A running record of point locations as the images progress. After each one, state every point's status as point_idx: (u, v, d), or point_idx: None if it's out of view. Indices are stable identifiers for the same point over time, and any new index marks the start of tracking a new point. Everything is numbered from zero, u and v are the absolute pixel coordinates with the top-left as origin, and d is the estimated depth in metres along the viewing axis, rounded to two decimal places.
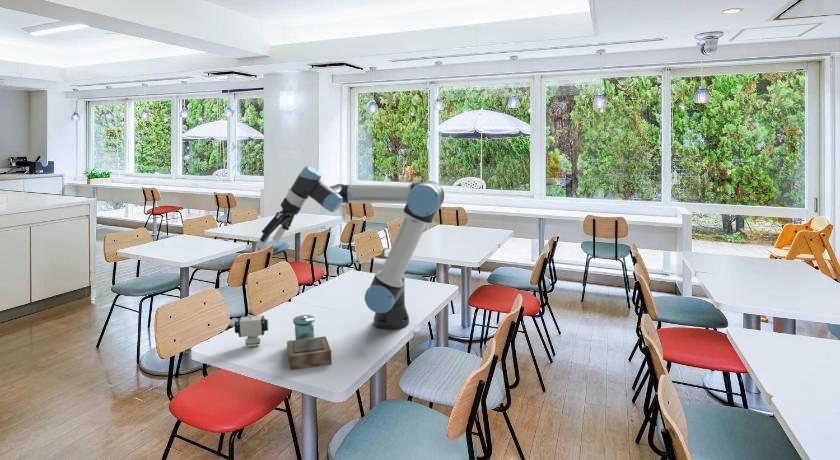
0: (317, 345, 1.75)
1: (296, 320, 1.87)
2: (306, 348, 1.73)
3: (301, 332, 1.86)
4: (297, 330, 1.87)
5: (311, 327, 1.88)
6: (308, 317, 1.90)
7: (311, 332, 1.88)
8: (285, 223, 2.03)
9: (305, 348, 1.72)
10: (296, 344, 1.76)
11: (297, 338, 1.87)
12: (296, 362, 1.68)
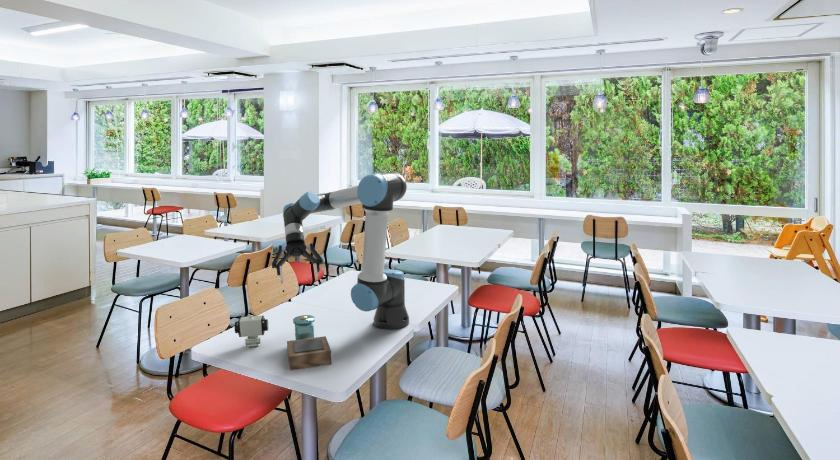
0: (317, 345, 1.75)
1: (296, 320, 1.87)
2: (306, 348, 1.73)
3: (301, 332, 1.86)
4: (297, 330, 1.87)
5: (311, 327, 1.88)
6: (308, 317, 1.90)
7: (311, 332, 1.88)
8: (309, 257, 2.03)
9: (305, 348, 1.72)
10: (296, 344, 1.76)
11: (297, 338, 1.87)
12: (296, 362, 1.68)
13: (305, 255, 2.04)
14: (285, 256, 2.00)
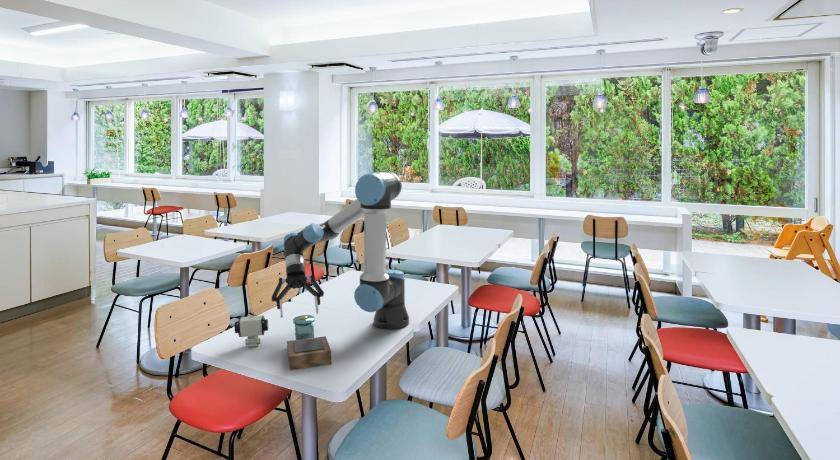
0: (317, 345, 1.75)
1: (296, 320, 1.87)
2: (306, 348, 1.73)
3: (301, 332, 1.86)
4: (297, 330, 1.87)
5: (311, 327, 1.88)
6: (308, 317, 1.90)
7: (311, 332, 1.88)
8: (309, 290, 2.00)
9: (305, 348, 1.72)
10: (296, 344, 1.76)
11: (297, 338, 1.87)
12: (296, 362, 1.68)
13: (306, 287, 2.01)
14: (285, 289, 1.97)
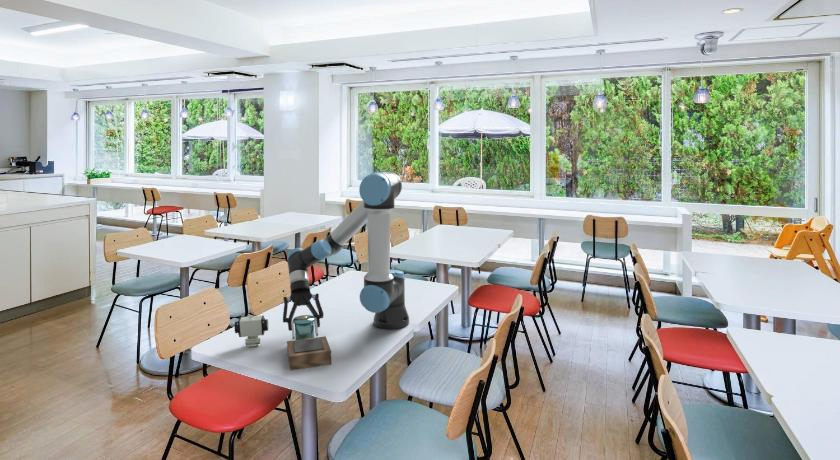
0: (317, 345, 1.75)
1: (296, 320, 1.87)
2: (306, 348, 1.73)
3: (301, 332, 1.86)
4: (297, 330, 1.87)
5: (311, 327, 1.88)
6: (308, 317, 1.90)
7: (311, 332, 1.88)
8: (310, 309, 1.93)
9: (305, 348, 1.72)
10: (296, 344, 1.76)
11: (297, 338, 1.87)
12: (296, 362, 1.68)
13: (308, 306, 1.94)
14: (293, 308, 1.91)
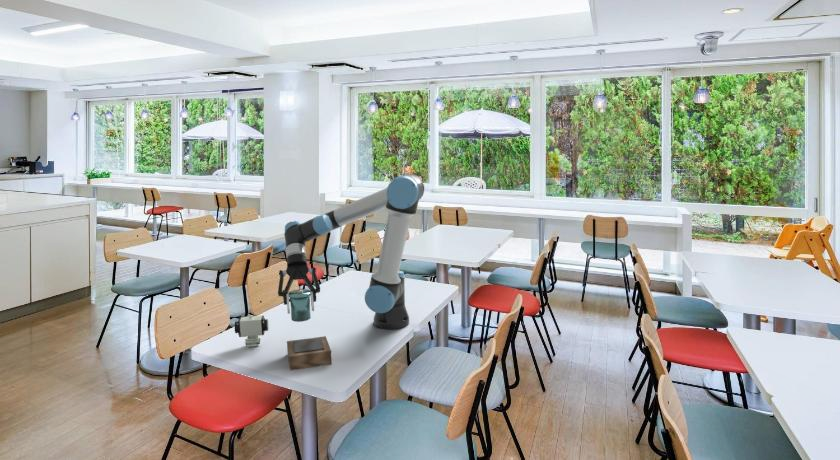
0: (317, 345, 1.75)
1: (291, 294, 1.81)
2: (306, 348, 1.73)
3: (296, 306, 1.80)
4: (292, 304, 1.81)
5: (307, 301, 1.82)
6: (304, 291, 1.84)
7: (307, 306, 1.82)
8: (307, 283, 1.87)
9: (305, 348, 1.72)
10: (296, 344, 1.76)
11: (292, 312, 1.82)
12: (296, 362, 1.68)
13: (304, 280, 1.88)
14: (289, 281, 1.85)
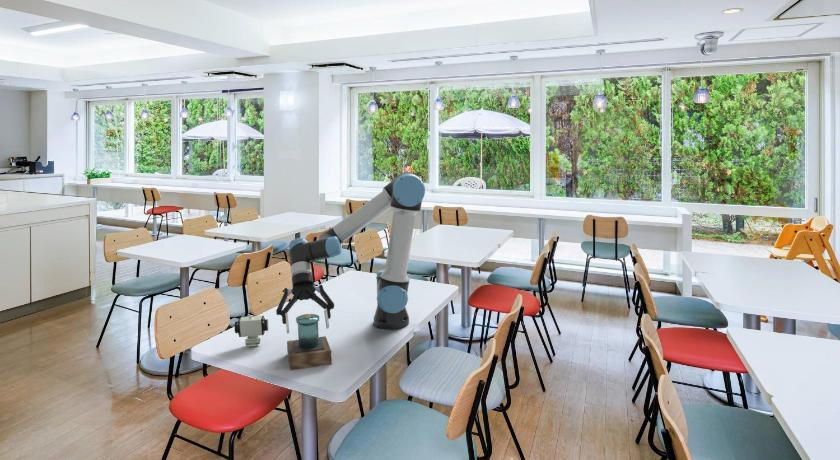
0: None
1: (299, 319, 1.72)
2: None
3: (304, 332, 1.71)
4: (300, 330, 1.72)
5: (315, 327, 1.73)
6: (312, 316, 1.75)
7: (315, 332, 1.73)
8: (318, 301, 1.79)
9: None
10: (296, 344, 1.76)
11: (300, 339, 1.73)
12: (296, 362, 1.68)
13: (314, 299, 1.79)
14: (291, 301, 1.76)
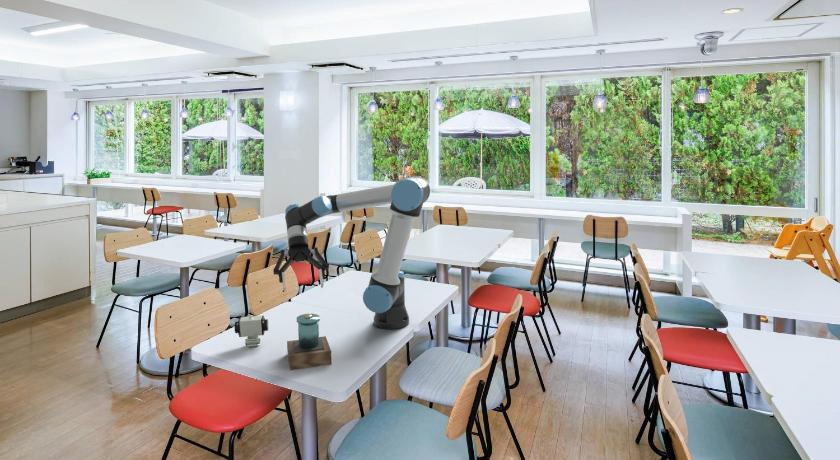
0: None
1: (300, 319, 1.72)
2: (306, 348, 1.73)
3: (304, 332, 1.71)
4: (300, 329, 1.72)
5: (316, 327, 1.73)
6: (313, 316, 1.75)
7: (316, 332, 1.73)
8: (313, 263, 1.88)
9: (305, 348, 1.72)
10: (296, 344, 1.76)
11: (300, 338, 1.73)
12: (296, 362, 1.68)
13: (309, 260, 1.89)
14: (288, 261, 1.85)
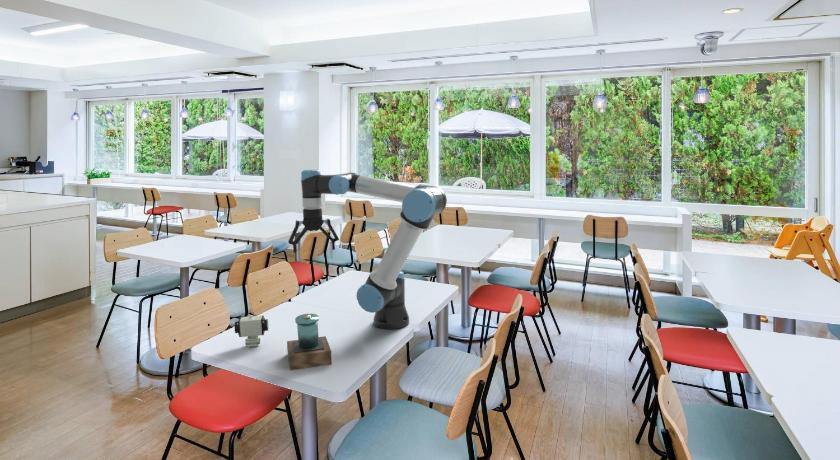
0: None
1: (298, 319, 1.72)
2: None
3: (303, 332, 1.71)
4: (299, 330, 1.72)
5: (314, 327, 1.73)
6: (312, 316, 1.75)
7: (314, 333, 1.73)
8: None
9: None
10: (296, 344, 1.76)
11: (299, 339, 1.73)
12: (296, 362, 1.68)
13: (322, 231, 2.04)
14: (302, 234, 2.00)
